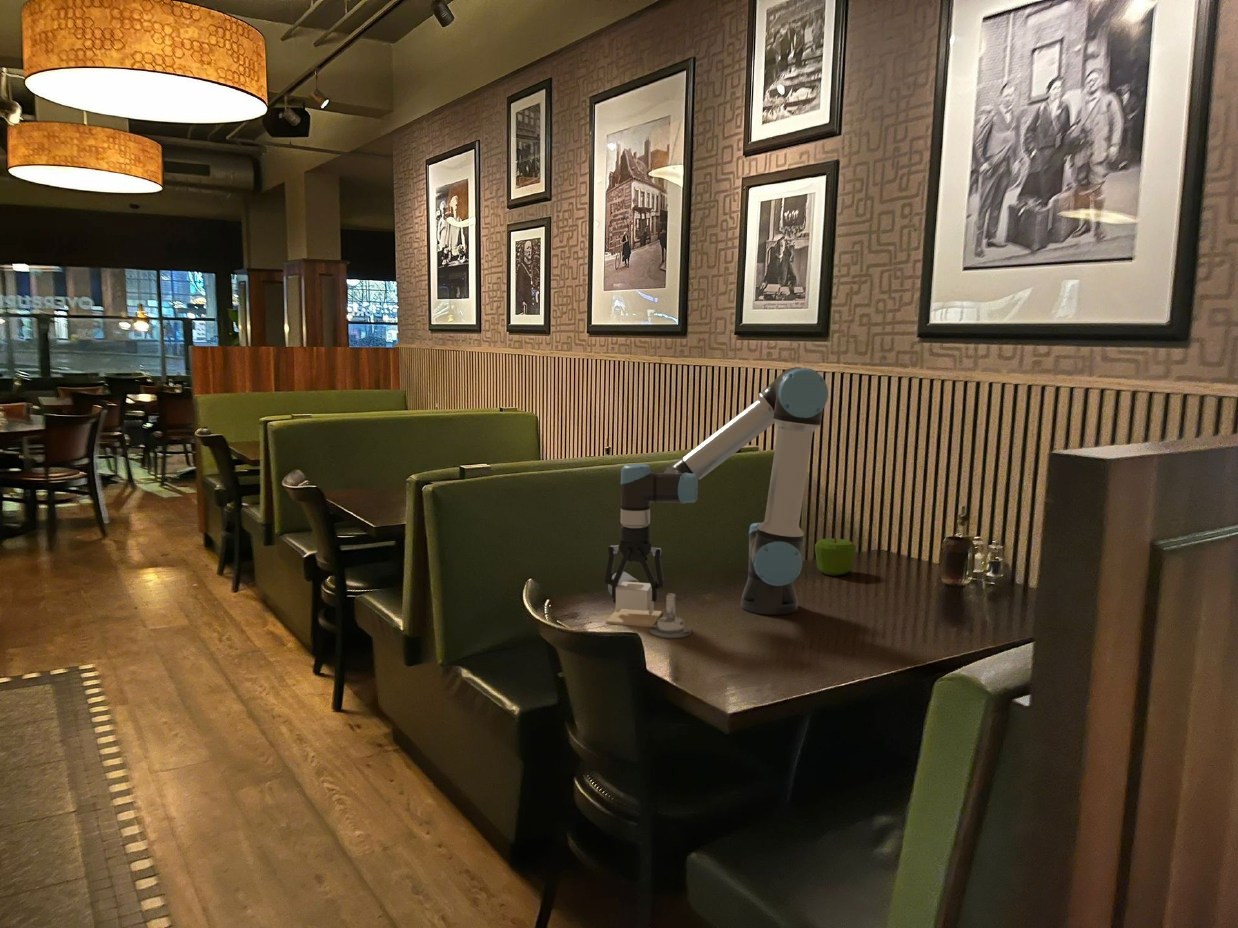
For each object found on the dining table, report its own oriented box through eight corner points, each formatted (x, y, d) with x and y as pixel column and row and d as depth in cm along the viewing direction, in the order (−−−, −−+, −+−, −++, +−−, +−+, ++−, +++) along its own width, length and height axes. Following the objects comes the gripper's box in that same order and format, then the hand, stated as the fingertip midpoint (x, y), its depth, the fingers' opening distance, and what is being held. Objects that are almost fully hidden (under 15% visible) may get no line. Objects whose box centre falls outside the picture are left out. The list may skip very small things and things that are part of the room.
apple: (859, 578, 272) (860, 542, 270) (818, 578, 272) (820, 541, 270) (849, 568, 284) (850, 533, 283) (810, 568, 284) (811, 533, 283)
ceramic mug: (621, 607, 240) (621, 579, 239) (607, 599, 247) (607, 572, 246) (655, 602, 245) (655, 575, 244) (640, 595, 252) (641, 568, 251)
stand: (693, 627, 222) (694, 590, 221) (687, 640, 213) (687, 601, 211) (654, 624, 225) (654, 587, 223) (646, 636, 215) (646, 598, 214)
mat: (661, 613, 234) (661, 611, 234) (652, 626, 223) (652, 624, 223) (617, 610, 237) (617, 607, 237) (606, 623, 225) (606, 620, 225)
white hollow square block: (653, 602, 232) (653, 583, 232) (646, 610, 225) (646, 591, 224) (623, 600, 234) (623, 581, 233) (615, 608, 226) (615, 589, 226)
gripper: (678, 524, 228) (677, 610, 231) (599, 520, 233) (599, 605, 236) (673, 529, 221) (671, 619, 224) (591, 525, 226) (591, 613, 228)
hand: (634, 611), depth 230 cm, fingers closed on white hollow square block, 8 cm apart
